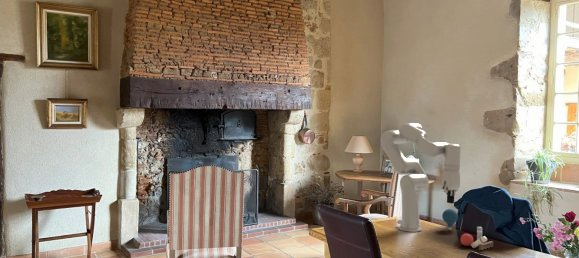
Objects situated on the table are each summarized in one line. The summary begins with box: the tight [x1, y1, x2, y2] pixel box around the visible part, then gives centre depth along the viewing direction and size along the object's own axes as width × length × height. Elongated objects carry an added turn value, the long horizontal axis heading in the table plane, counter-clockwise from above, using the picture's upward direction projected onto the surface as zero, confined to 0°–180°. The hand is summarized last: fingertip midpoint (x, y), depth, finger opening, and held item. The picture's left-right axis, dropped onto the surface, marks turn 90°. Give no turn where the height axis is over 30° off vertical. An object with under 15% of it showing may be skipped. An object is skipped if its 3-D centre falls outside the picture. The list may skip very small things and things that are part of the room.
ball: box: [460, 233, 475, 247], centre depth 222 cm, size 6×6×6 cm
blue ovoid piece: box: [441, 208, 459, 231], centre depth 254 cm, size 8×8×12 cm
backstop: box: [478, 240, 494, 251], centre depth 217 cm, size 1×11×2 cm, turn 127°
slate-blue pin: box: [476, 226, 483, 245], centre depth 224 cm, size 2×2×8 cm
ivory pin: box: [470, 235, 488, 249], centre depth 215 cm, size 2×2×8 cm
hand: (450, 202), depth 232 cm, fingers closed
